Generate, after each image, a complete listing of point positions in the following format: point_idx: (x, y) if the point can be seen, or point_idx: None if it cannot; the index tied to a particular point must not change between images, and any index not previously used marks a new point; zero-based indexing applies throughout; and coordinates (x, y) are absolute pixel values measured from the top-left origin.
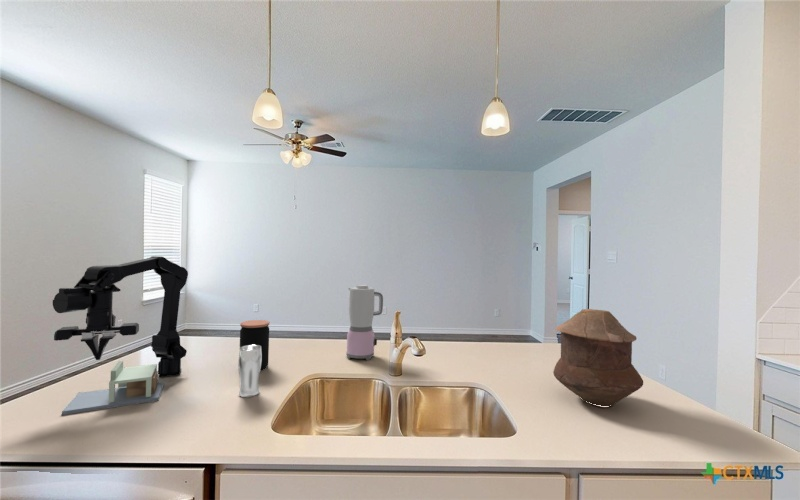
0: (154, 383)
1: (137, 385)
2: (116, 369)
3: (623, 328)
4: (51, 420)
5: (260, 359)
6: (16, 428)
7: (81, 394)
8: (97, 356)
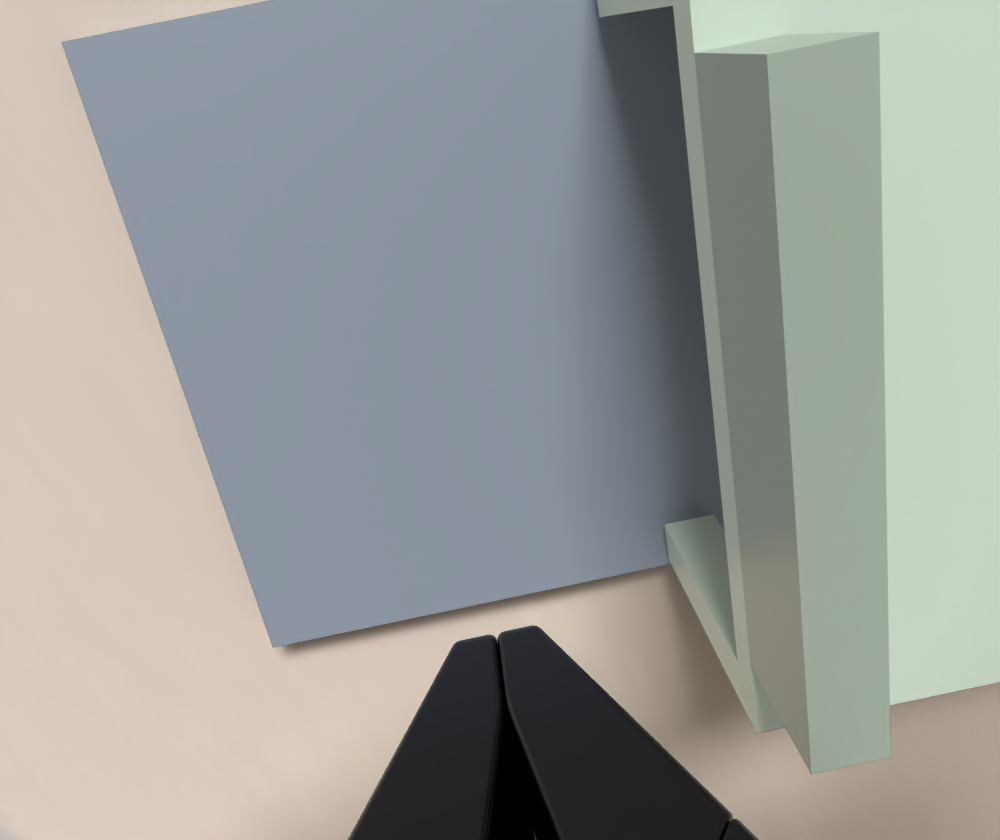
0: None
1: None
2: (882, 691)
3: None
4: (257, 712)
5: None
6: (60, 807)
7: (160, 145)
8: (532, 838)
